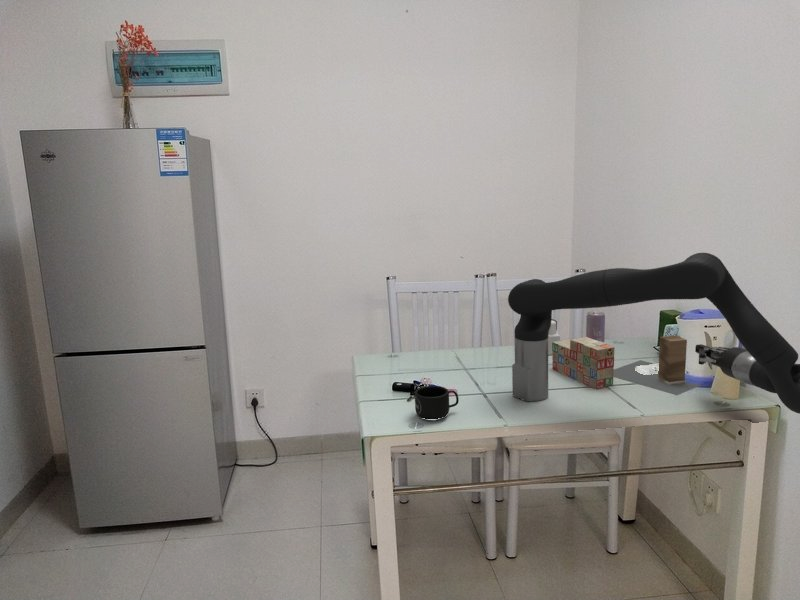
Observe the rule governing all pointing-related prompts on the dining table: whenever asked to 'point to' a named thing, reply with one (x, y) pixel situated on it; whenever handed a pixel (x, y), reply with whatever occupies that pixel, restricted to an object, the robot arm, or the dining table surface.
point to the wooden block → (672, 359)
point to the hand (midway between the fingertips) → (698, 348)
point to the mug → (433, 402)
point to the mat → (650, 379)
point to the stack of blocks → (585, 361)
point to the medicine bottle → (552, 336)
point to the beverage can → (595, 325)
